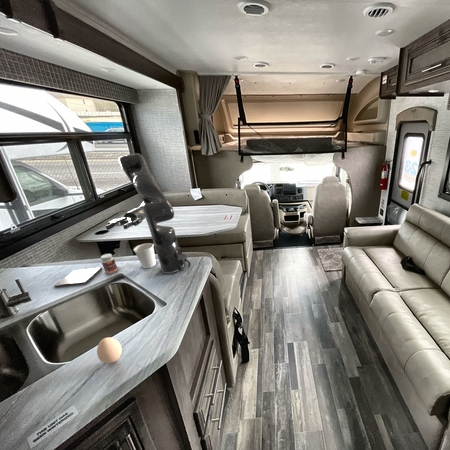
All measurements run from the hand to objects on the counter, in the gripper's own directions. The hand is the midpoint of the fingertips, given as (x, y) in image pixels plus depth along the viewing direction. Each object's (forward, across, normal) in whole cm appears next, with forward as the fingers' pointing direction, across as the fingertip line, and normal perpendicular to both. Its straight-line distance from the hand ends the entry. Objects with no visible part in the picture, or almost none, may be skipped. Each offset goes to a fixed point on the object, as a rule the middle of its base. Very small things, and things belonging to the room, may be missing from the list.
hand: (115, 227), depth 118 cm
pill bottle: (+11, 0, +18) cm, 21 cm away
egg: (+60, +35, +18) cm, 72 cm away
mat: (+16, -11, +18) cm, 26 cm away
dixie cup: (+7, +16, +18) cm, 25 cm away
